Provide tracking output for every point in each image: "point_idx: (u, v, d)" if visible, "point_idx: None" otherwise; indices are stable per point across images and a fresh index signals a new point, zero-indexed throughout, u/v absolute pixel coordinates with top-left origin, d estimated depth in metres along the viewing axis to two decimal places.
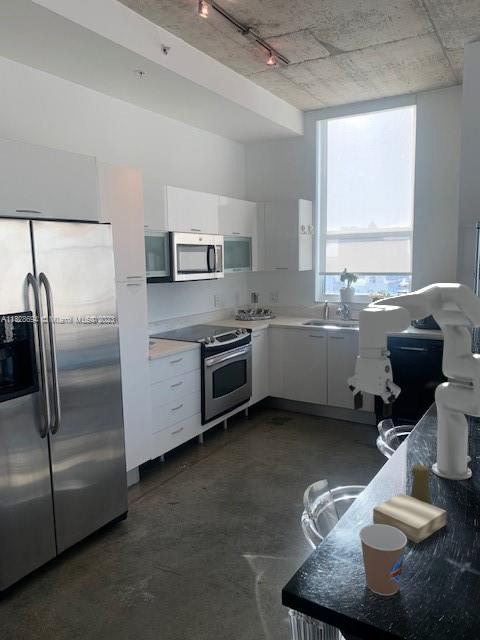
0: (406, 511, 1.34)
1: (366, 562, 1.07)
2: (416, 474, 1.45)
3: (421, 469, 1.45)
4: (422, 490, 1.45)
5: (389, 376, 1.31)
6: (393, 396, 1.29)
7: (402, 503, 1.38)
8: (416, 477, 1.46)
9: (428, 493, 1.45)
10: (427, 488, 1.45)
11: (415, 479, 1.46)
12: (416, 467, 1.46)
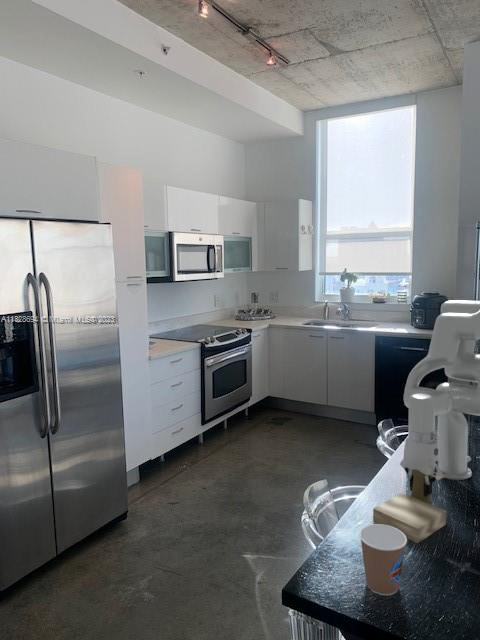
0: (406, 511, 1.34)
1: (366, 562, 1.07)
2: (416, 474, 1.45)
3: None
4: (422, 490, 1.45)
5: (437, 458, 1.43)
6: (434, 479, 1.42)
7: (402, 503, 1.38)
8: (416, 477, 1.46)
9: None
10: None
11: (415, 479, 1.46)
12: None
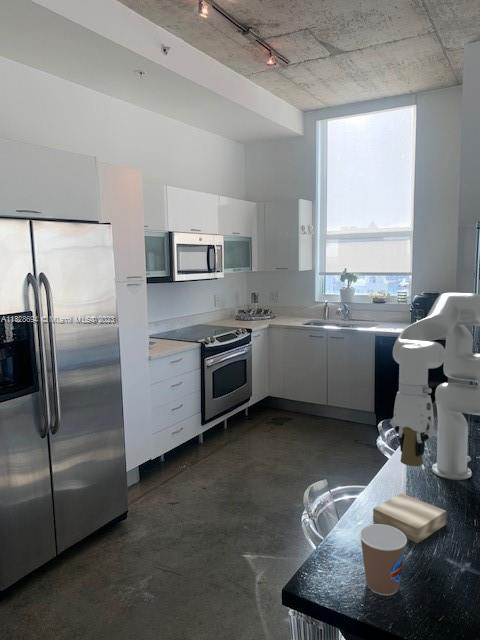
0: (406, 511, 1.34)
1: (366, 562, 1.07)
2: (406, 432, 1.33)
3: None
4: (413, 449, 1.33)
5: (430, 413, 1.30)
6: (426, 436, 1.30)
7: (402, 503, 1.38)
8: (407, 435, 1.33)
9: None
10: None
11: (406, 437, 1.34)
12: None
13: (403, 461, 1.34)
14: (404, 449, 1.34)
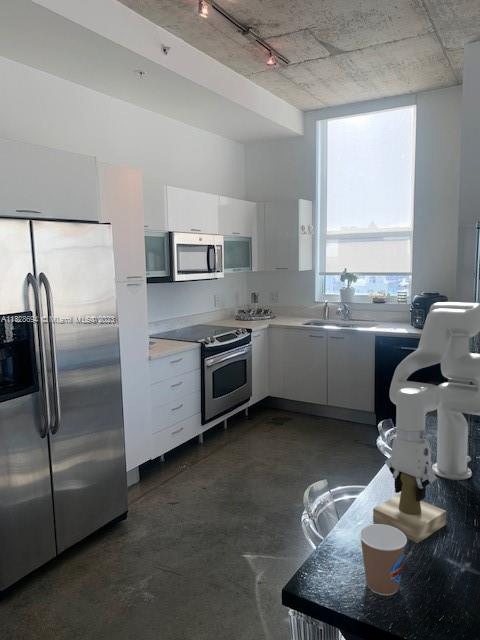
0: None
1: (366, 562, 1.07)
2: (404, 480, 1.32)
3: (410, 475, 1.32)
4: (411, 498, 1.32)
5: (428, 459, 1.30)
6: (427, 482, 1.29)
7: None
8: (405, 483, 1.33)
9: None
10: None
11: (404, 486, 1.33)
12: None
13: (401, 509, 1.34)
14: (402, 497, 1.34)
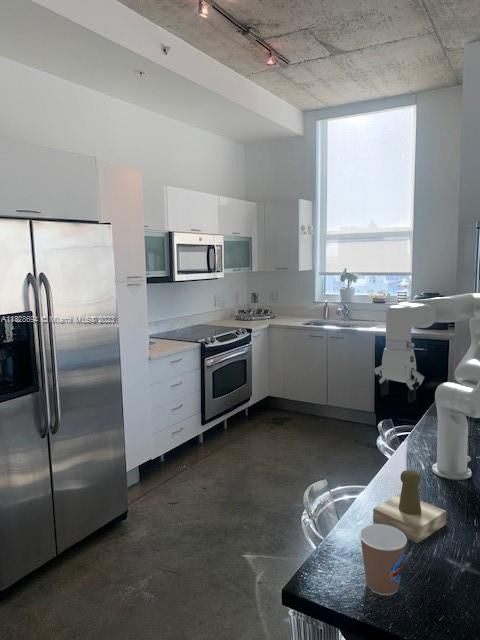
0: None
1: (366, 562, 1.07)
2: (404, 480, 1.32)
3: (410, 475, 1.32)
4: (411, 498, 1.32)
5: (413, 365, 1.47)
6: (417, 383, 1.45)
7: None
8: (405, 483, 1.33)
9: (418, 501, 1.33)
10: (417, 496, 1.32)
11: (404, 486, 1.33)
12: (405, 473, 1.34)
13: (401, 509, 1.34)
14: (402, 497, 1.34)
